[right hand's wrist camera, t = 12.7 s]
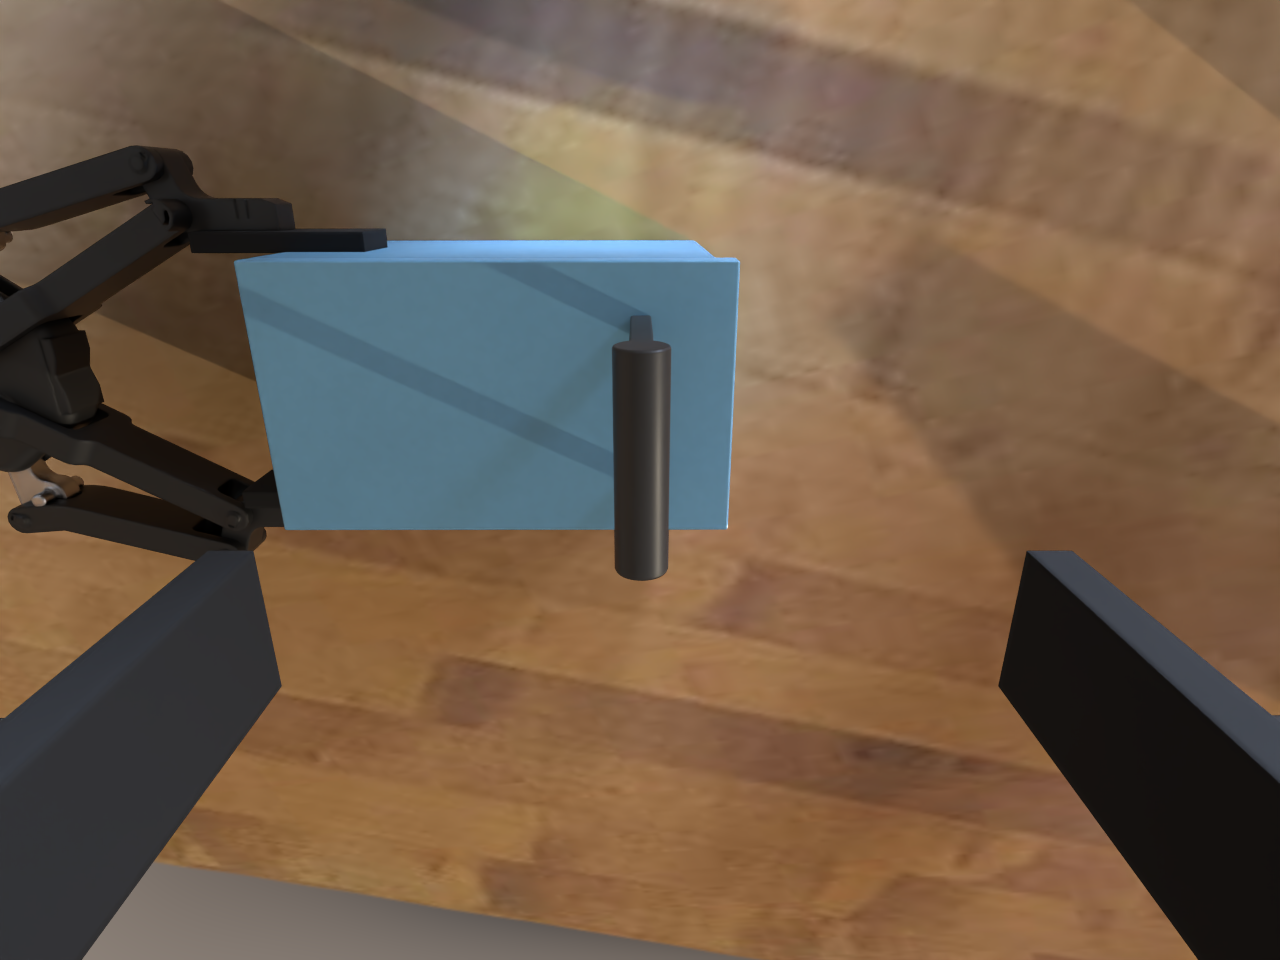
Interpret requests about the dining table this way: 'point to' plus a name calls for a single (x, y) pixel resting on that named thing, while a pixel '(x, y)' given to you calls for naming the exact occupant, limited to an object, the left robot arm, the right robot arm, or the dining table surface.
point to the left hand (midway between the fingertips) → (391, 371)
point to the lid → (498, 394)
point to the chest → (519, 250)
